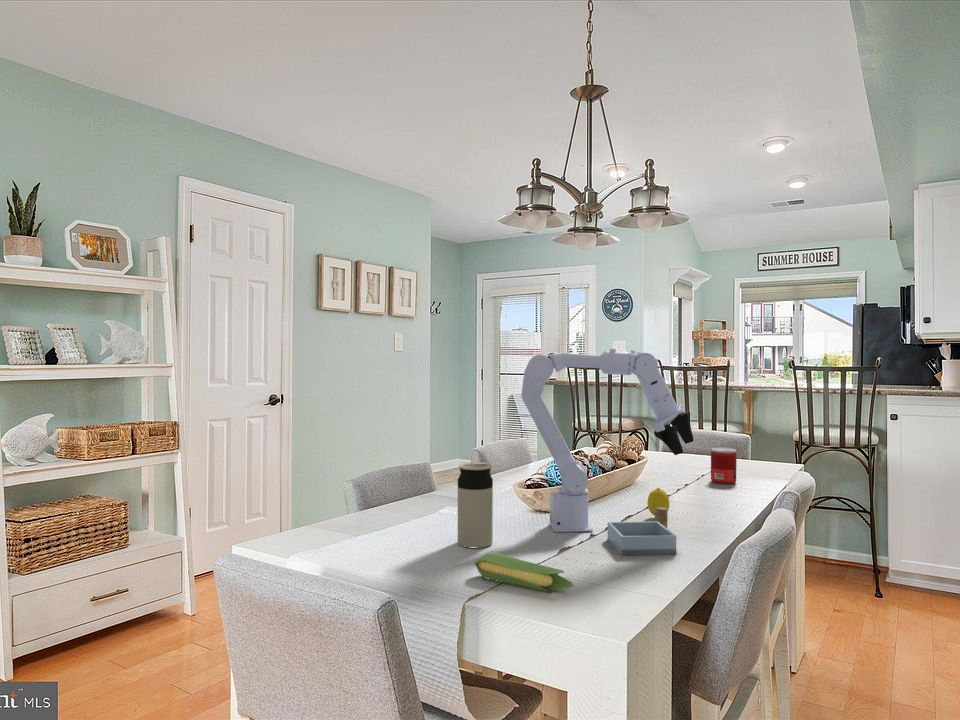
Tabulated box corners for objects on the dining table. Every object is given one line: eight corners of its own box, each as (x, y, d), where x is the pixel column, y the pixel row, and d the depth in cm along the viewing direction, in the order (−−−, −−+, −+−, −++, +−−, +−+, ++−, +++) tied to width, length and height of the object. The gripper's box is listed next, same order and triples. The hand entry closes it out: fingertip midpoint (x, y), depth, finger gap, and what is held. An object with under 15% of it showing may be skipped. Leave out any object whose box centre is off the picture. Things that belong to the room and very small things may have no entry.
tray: (621, 555, 141) (621, 536, 141) (607, 539, 153) (607, 522, 153) (676, 554, 141) (676, 536, 141) (658, 538, 153) (658, 521, 153)
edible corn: (484, 549, 131) (473, 548, 127) (577, 570, 121) (567, 570, 117) (480, 576, 130) (468, 576, 126) (573, 600, 119) (563, 600, 116)
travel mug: (497, 547, 146) (497, 467, 146) (462, 550, 144) (462, 468, 144) (486, 537, 154) (486, 461, 154) (453, 540, 152) (453, 462, 151)
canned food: (739, 484, 215) (740, 451, 214) (715, 484, 215) (715, 451, 215) (731, 480, 222) (731, 447, 222) (707, 479, 222) (707, 447, 222)
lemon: (670, 521, 168) (670, 490, 168) (647, 520, 169) (648, 489, 169) (668, 516, 174) (668, 486, 174) (646, 515, 175) (647, 485, 175)
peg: (656, 535, 156) (656, 510, 156) (652, 532, 159) (652, 507, 159) (669, 535, 156) (669, 510, 156) (664, 531, 159) (665, 507, 159)
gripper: (663, 402, 152) (689, 454, 152) (684, 383, 163) (708, 432, 163) (637, 411, 156) (662, 462, 156) (659, 392, 168) (683, 440, 167)
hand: (684, 447), depth 160 cm, fingers open, 7 cm apart
